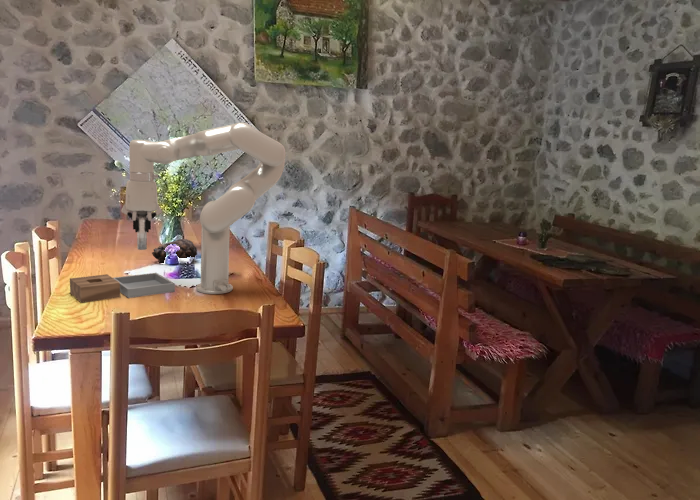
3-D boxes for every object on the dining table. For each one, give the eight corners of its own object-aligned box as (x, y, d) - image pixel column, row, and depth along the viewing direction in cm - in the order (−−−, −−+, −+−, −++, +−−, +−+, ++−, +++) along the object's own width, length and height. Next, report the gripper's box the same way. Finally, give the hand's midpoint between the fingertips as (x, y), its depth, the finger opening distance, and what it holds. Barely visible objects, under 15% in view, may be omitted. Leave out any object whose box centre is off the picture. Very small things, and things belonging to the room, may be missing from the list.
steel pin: (150, 249, 199) (150, 210, 196) (138, 250, 196) (137, 210, 194) (145, 247, 203) (145, 208, 200) (133, 248, 200) (132, 208, 197)
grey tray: (174, 291, 202) (174, 283, 201) (128, 298, 191) (128, 289, 191) (156, 280, 214) (156, 272, 213) (111, 286, 203) (111, 277, 203)
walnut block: (120, 297, 192) (119, 282, 191) (81, 302, 184) (80, 287, 183) (107, 288, 200) (107, 274, 199) (70, 293, 193) (69, 278, 192)
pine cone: (150, 261, 241) (150, 237, 239) (193, 259, 249) (193, 236, 247) (155, 267, 232) (154, 242, 230) (199, 264, 240) (200, 241, 238)
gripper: (166, 177, 201) (166, 229, 205) (115, 175, 195) (116, 229, 199) (168, 179, 194) (167, 233, 198) (115, 177, 188) (115, 233, 192)
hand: (141, 231), depth 198 cm, fingers closed on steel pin, 3 cm apart
